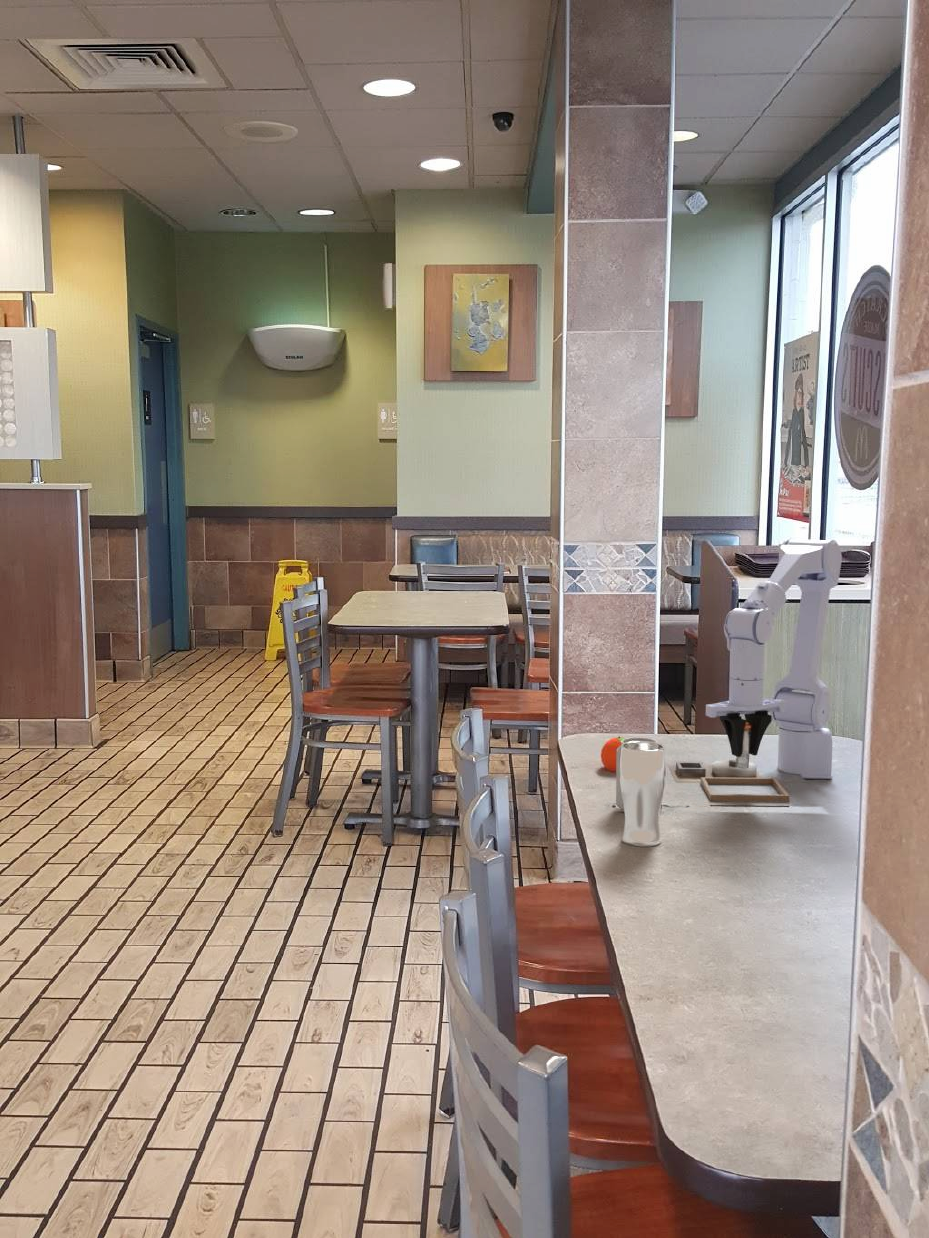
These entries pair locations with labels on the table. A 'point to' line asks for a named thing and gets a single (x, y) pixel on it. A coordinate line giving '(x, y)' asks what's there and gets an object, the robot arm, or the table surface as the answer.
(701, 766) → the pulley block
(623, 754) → the beer glass
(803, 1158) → the table surface
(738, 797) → the tray
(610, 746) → the clementine
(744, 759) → the lock pin
